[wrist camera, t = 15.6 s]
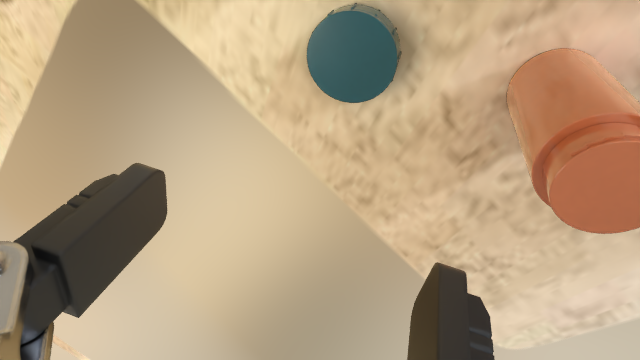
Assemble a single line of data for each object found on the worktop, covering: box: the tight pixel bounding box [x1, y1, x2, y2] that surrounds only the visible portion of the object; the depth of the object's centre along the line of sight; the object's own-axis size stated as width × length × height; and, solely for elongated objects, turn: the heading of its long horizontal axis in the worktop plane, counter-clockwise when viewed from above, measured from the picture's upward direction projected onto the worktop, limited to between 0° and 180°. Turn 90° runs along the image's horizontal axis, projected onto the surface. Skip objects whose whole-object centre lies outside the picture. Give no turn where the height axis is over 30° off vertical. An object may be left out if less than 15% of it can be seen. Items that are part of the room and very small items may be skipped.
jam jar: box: [507, 48, 640, 234], centre depth 20 cm, size 5×5×11 cm
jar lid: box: [307, 3, 401, 103], centre depth 25 cm, size 6×6×2 cm
